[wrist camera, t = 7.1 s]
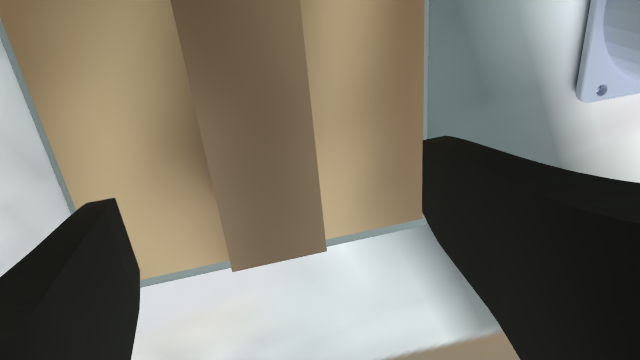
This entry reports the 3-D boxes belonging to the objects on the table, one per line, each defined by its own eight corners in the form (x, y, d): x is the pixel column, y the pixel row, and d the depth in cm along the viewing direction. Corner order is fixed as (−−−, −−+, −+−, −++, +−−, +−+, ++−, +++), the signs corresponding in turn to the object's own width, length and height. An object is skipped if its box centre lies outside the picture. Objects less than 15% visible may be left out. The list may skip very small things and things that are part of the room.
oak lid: (415, -140, 16) (497, -161, 11) (415, 209, 22) (468, 277, 18) (-34, -98, 13) (-131, -104, 9) (109, 274, 20) (88, 368, 16)
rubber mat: (423, -141, 16) (431, -143, 16) (420, 218, 23) (425, 224, 22) (-45, -97, 14) (-54, -97, 13) (105, 286, 21) (103, 295, 20)
